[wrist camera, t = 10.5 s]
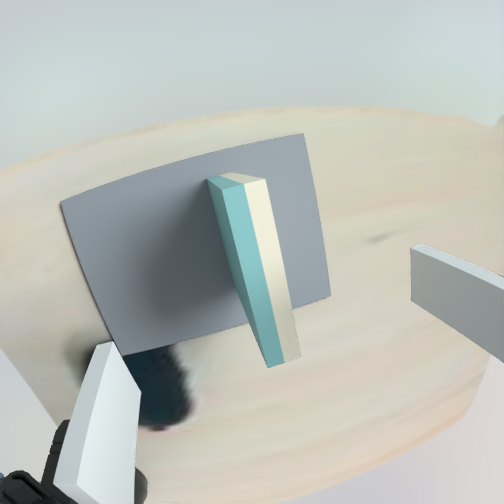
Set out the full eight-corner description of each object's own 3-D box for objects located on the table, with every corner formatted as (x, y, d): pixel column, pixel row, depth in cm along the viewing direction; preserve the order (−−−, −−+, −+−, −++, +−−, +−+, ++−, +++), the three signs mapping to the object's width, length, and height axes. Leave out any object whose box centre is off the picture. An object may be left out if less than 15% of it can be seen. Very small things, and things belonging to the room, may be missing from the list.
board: (235, 287, 28) (267, 368, 16) (206, 178, 24) (221, 189, 13) (256, 281, 28) (301, 356, 16) (229, 172, 25) (265, 178, 13)
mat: (122, 352, 28) (122, 355, 27) (62, 200, 23) (60, 201, 22) (328, 293, 30) (331, 295, 30) (301, 133, 25) (303, 133, 25)
